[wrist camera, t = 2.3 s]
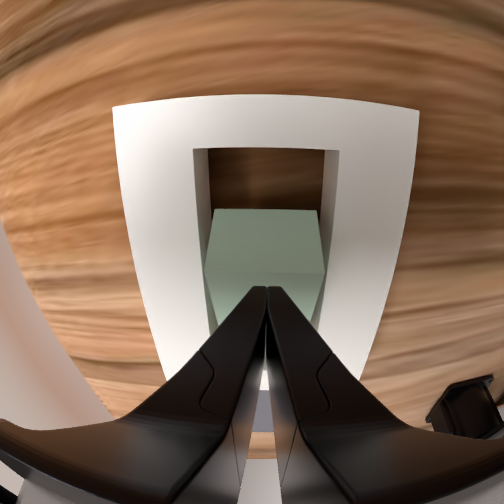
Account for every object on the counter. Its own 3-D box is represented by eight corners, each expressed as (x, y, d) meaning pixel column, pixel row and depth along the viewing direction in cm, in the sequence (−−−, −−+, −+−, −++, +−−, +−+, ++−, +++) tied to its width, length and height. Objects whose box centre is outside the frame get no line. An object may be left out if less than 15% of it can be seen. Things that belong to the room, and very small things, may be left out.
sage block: (316, 210, 12) (324, 273, 10) (297, 308, 18) (298, 355, 16) (214, 208, 12) (203, 271, 10) (230, 307, 18) (226, 354, 16)
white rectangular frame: (391, 106, 12) (419, 110, 10) (348, 354, 20) (355, 387, 17) (140, 103, 13) (112, 107, 10) (177, 350, 20) (167, 383, 18)
